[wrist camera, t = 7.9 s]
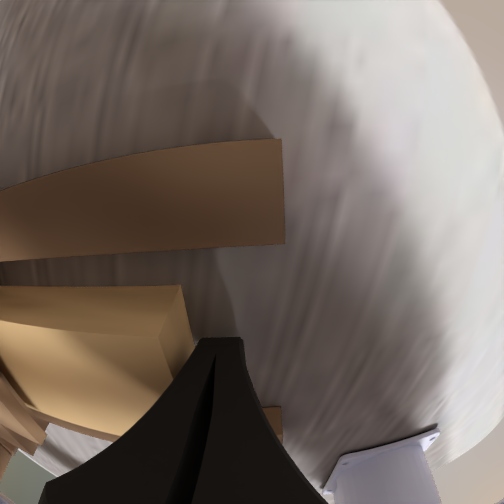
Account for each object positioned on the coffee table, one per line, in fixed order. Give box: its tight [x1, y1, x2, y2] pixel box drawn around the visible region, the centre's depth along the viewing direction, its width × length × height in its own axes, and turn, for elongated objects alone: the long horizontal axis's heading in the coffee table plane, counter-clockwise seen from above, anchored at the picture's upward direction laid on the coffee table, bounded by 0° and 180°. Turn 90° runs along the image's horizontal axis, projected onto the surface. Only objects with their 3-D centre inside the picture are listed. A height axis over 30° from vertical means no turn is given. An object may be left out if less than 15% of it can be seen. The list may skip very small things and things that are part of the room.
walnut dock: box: [0, 139, 285, 456], centre depth 8 cm, size 16×20×4 cm
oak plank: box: [0, 285, 195, 436], centre depth 9 cm, size 6×10×3 cm, turn 94°
